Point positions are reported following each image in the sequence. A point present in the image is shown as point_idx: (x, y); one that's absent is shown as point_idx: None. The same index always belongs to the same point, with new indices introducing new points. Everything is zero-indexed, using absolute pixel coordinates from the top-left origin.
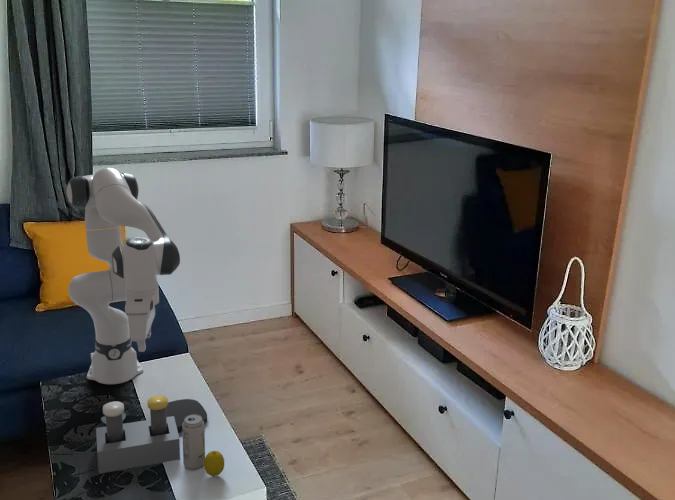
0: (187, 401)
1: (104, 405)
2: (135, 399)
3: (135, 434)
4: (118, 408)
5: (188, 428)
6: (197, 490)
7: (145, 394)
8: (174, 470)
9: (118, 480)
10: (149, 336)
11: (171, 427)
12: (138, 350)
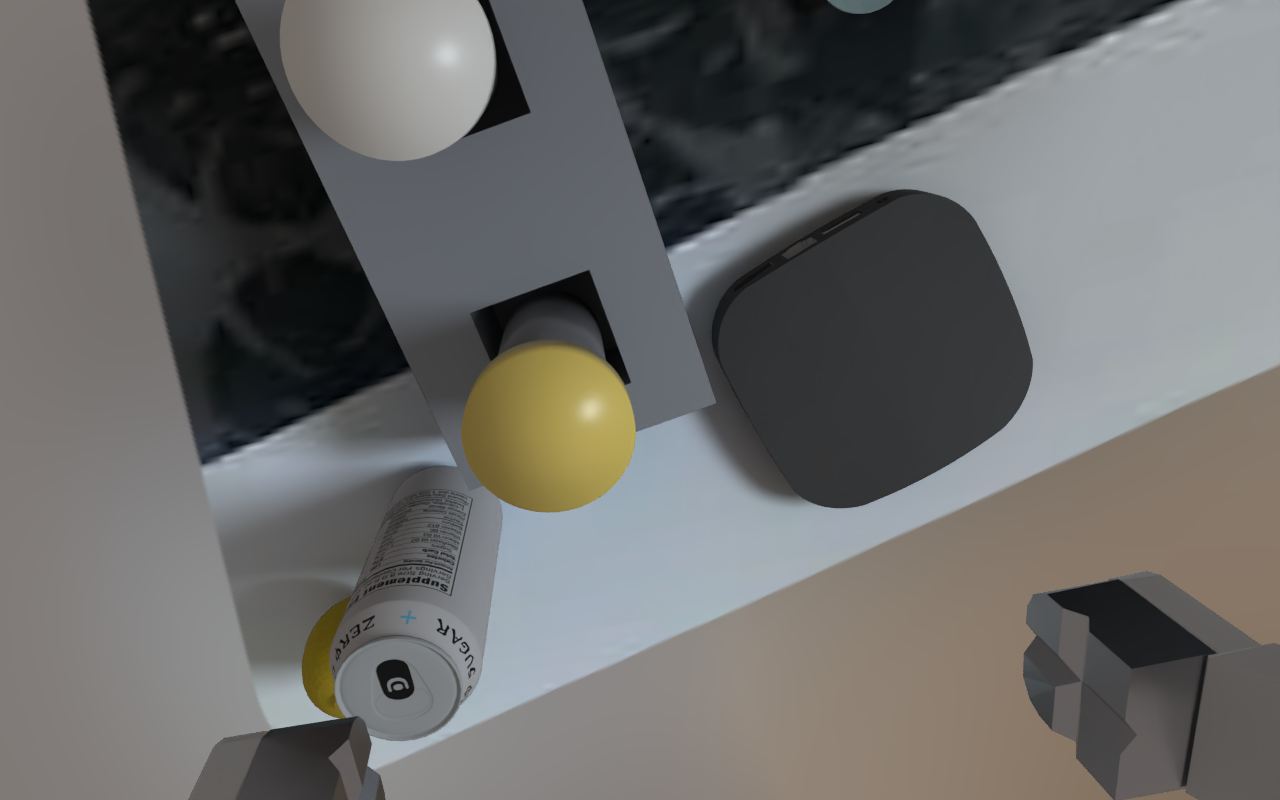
0: (1000, 376)
1: None
2: (1111, 8)
3: (483, 206)
4: (367, 117)
5: (332, 655)
6: (253, 560)
7: (1164, 63)
8: (388, 425)
9: (250, 147)
10: (1046, 709)
11: None
12: (216, 748)
